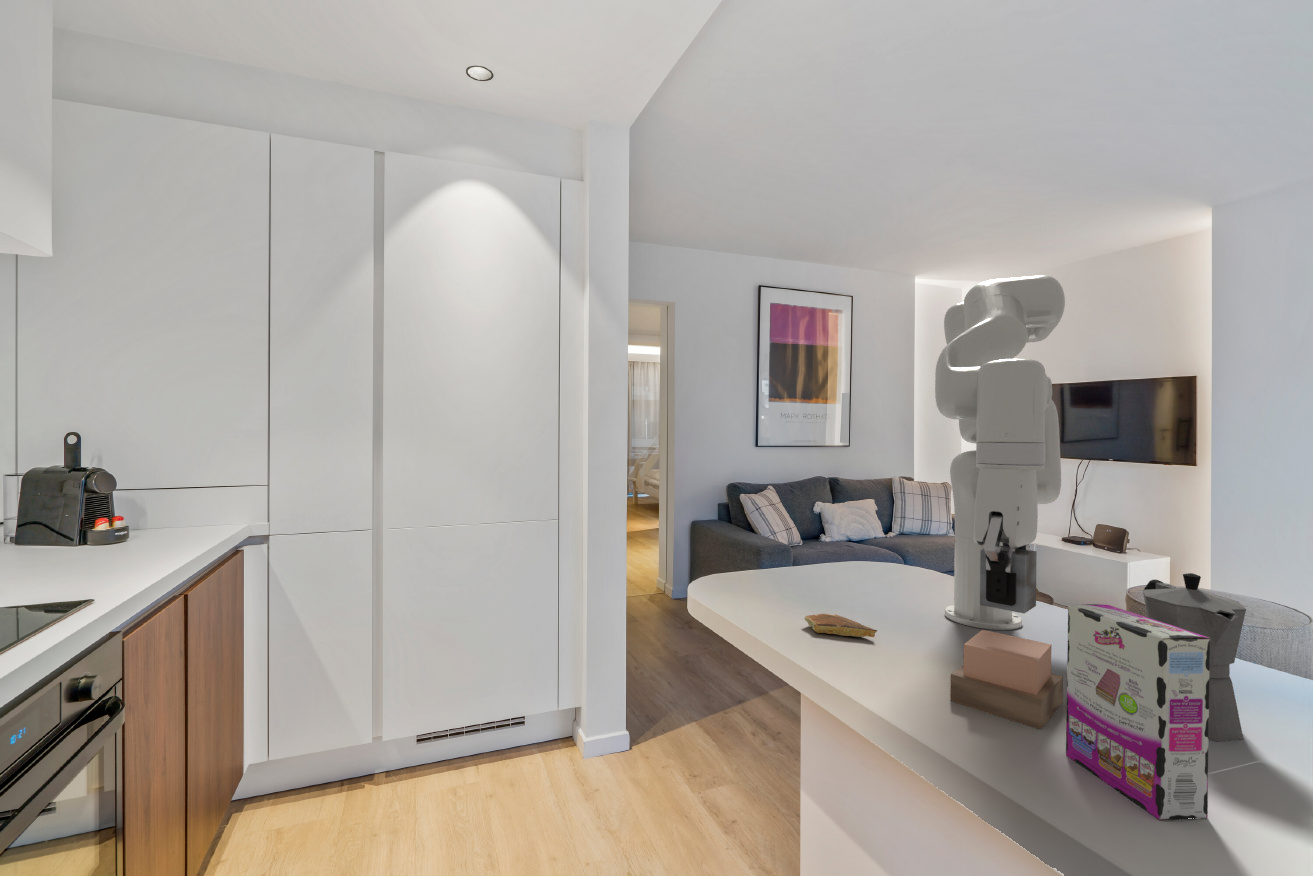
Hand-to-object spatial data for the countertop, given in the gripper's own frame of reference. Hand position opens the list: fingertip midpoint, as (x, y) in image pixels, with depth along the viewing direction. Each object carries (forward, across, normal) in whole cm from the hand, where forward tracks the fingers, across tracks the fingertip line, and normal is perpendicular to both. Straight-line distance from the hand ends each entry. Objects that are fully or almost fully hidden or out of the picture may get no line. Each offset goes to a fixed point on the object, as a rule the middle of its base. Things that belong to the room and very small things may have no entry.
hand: (1008, 597), depth 75 cm
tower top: (+10, 0, 0) cm, 10 cm away
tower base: (+14, 0, 0) cm, 14 cm away
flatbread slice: (+15, -12, -25) cm, 32 cm away
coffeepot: (+14, -11, +16) cm, 24 cm away
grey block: (+1, 0, 0) cm, 1 cm away
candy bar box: (+14, +11, +14) cm, 22 cm away
